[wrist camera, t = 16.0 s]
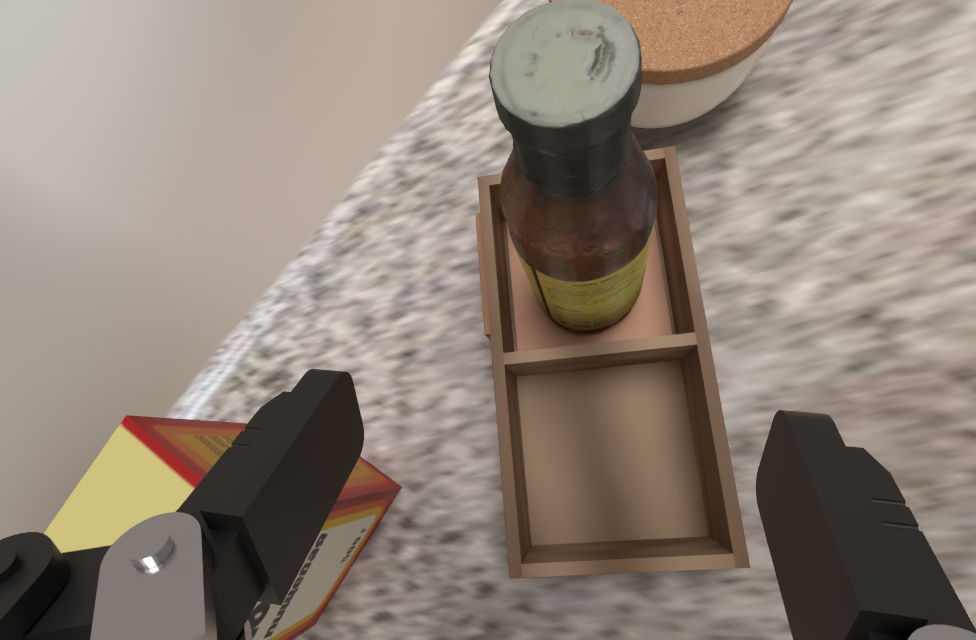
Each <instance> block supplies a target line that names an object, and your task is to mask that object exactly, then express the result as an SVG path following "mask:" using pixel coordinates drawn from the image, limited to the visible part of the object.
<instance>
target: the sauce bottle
mask: <svg viewBox="0 0 976 640" xmlns="http://www.w3.org/2000/svg"><path fill="white" fill-rule="evenodd" d="M641 69H642V56H641V50H640V42H639V39H638V37H637V35H636V33H635V31H634V29H633V27H632V26H631V24H630V23H629V21H628V20H627V19H626V18H624V17H623V16H622V15H621V13H620V12H619V11H618V10H616V9H615V8H613V7H611V6H609V5H607V4H605V3H603V2H599V1H596V0H558V1H554V2H551V3H547V4H544V5H541V6H538V7H536V8H534V9H531V10H529V11H527V12H525V13H524V14H523V15H522V16H521V17H519V18H518V19H516V20H515V21H513V23H512V24H511V25H510V26H509V27H508V28H507V29H506V31H505V32H504V33H503V35H502V36H501V37H500V39H499V40H498V42H497V44H496V47H495V49H494V52H493V54H492V58H491V63H490V73H489V79H490V83H491V87H492V92H493V96H494V100H495V105H496V109H497V112H498V115H499V118H500V120H501V122H502V123H503V124H504V126H505V128H506V129H507V130H508V131H509V132H510V133H511V135H512V138H513V147H514V148H513V150H512V152H511V154H510V157H509V159H508V161H507V163H506V165H505V168H504V170H503V172H502V177H501V184H500V192H499V196H500V199H501V203H502V210H503V214H504V217H505V219H506V222H507V224H508V227H509V233H510V237H511V240H512V243H513V245H514V248H515V250H516V252H517V254H518V257H519V259H520V261H521V264H522V266H523V268H524V271H525V273H526V275H527V278H528V280H529V282H530V285H531V287H532V289H533V292H534V294H535V296H536V299H537V301H538V303H539V305H540V306H541V308H542V309H543V311H544V312H545V313H546V314H547V315H549V316H550V318H551V319H552V321H553V322H555V323H556V324H558V325H559V326H561V327H563V328H565V329H568V330H572V331H574V332H585V333H596V332H601V331H603V330H605V329H608V328H609V327H611V326H613V325H615V324H617V323H618V322H620V321H621V320H622V319H623V318H625V317H626V316H627V315H628V314H629V313H630V311H631V309H632V307H633V306H634V304H635V303H636V301H637V299H638V297H639V295H640V292H641V288H642V284H643V279H644V274H645V269H646V263H647V259H648V254H649V249H650V244H651V239H652V235H653V229H654V225H655V220H656V213H657V206H658V189H657V181H656V177H655V173H654V170H653V168H652V166H651V164H650V162H649V160H648V158H647V156H646V154H645V153H644V151H643V149H642V147H641V146H640V144H639V142H638V140H637V139H636V137H635V135H634V134H633V132H632V130H631V125H630V124H631V115H632V113H633V111H634V110H635V108H636V106H637V103H638V101H639V97H640V92H641V86H642V71H641Z"/></svg>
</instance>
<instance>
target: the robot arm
mask: <svg viewBox="0 0 976 640" xmlns="http://www.w3.org/2000/svg"><path fill="white" fill-rule="evenodd" d="M363 441H364V428H363V423H362V418H361V414H360V410H359V405H358V401H357V397H356V392H355V388H354V384H353V380H352V377H351V375H350V374H349V373H348V372H343V371H332V370H320V369H311V370H309V371H307V372H306V373H305V375H304V376H303V377H302V378H301V380H300V381H299V382H298V384H297V385H296V386H295V388H294V389H293V390H292V391H291V392H282V393H281V394H279V395H278V396H276V397H275V398H274V399H272V400H271V401H269V402H268V403H266V404H265V405H264V406H262V407H261V408H260V409H259V410H258V411H257V413H256V414H255V415H254V416H253V418H252V419H251V420H250V421H249V422H248V424H247V425H246V426H245V430H244V431H241V432H240V434H239V435H238V436H237V437H236V438H235V440H234V441H233V442H232V446H231V447H228V448H227V450H226V451H225V452H224V453H223V454H222V456H221V457H220V458H219V459H218V461H217V462H216V463H215V464H214V466H213V467H212V468H211V469H210V470H209V472H208V473H207V474H206V475H205V477H204V478H203V479H202V480H201V482H200V483H199V484H198V485H197V486H196V488H195V489H194V490H193V491H192V493H191V494H190V495H189V496H188V497H187V499H186V500H185V501H184V502H183V504H182V505H181V506H180V507H179V508H178V510H177V511H176V512H169V513H164V514H160V515H156V516H153V517H151V518H148V519H146V520H144V521H142V522H140V523H138V524H136V525H135V526H133V527H132V528H130V529H129V530H128V531H126V532H125V533H124V534H123V535H121V536H120V537H119V538H118V539H117V540H116V541H115V542H114V543H113V545H109V546H103V547H96V548H90V549H83V550H77V551H71V552H64V553H61V552H60V551H59V549H58V548H57V547H56V545H55V544H54V543H53V541H52V540H51V539H50V538H49V537H48V536H47V535H45V534H42V533H38V532H27V533H21V534H17V535H13V536H10V537H7V538H4V539H2V540H0V640H252V634H251V627H250V623H249V621H248V618H249V616H250V614H251V613H252V611H253V609H254V607H255V606H256V604H257V602H264V603H269V604H275V605H282V603H283V601H284V599H285V597H286V596H287V594H288V592H289V590H290V588H291V586H292V584H293V582H294V580H295V578H296V577H297V575H298V573H299V571H300V569H301V567H302V565H303V563H304V561H305V559H306V558H307V556H308V554H309V552H310V550H311V548H312V546H313V544H314V542H315V541H316V539H317V537H318V535H319V533H320V531H321V529H322V527H323V525H324V523H325V522H326V520H327V518H328V516H329V514H330V512H331V510H332V508H333V506H334V505H335V503H336V501H337V499H338V497H339V495H340V493H341V491H342V489H343V487H344V486H345V484H346V482H347V480H348V478H349V476H350V474H351V472H352V470H353V468H354V467H355V465H356V463H357V461H358V459H359V457H360V454H361V451H362V447H363ZM756 496H757V504H758V508H759V512H760V516H761V520H762V523H763V527H764V531H765V535H766V538H767V542H768V546H769V550H770V554H771V557H772V561H773V565H774V569H775V572H776V576H777V580H778V584H779V587H780V591H781V595H782V599H783V602H784V606H785V610H786V614H787V618H788V621H789V625H790V629H791V633H792V636H793V640H976V629H975V627H974V626H973V624H972V622H971V620H970V618H969V617H968V615H967V613H966V611H965V609H964V607H963V606H962V604H961V602H960V600H959V598H958V596H957V595H956V593H955V591H954V589H953V587H952V585H951V584H950V582H949V580H948V578H947V576H946V575H945V573H944V571H943V569H942V567H941V565H940V564H939V562H938V560H937V558H936V556H935V554H934V553H933V551H932V549H931V547H930V545H929V543H928V542H927V540H926V538H925V536H924V534H923V532H922V531H919V530H918V526H919V525H918V523H917V521H916V520H915V518H914V516H913V514H912V512H911V510H910V509H909V507H906V506H905V502H906V501H905V499H904V498H903V496H902V494H901V492H900V490H899V488H898V487H897V485H896V483H895V481H894V479H893V477H892V476H891V474H890V473H889V472H888V471H887V470H886V469H885V468H884V467H883V466H882V465H881V464H880V463H879V462H878V461H877V460H875V459H874V458H873V457H872V456H871V455H870V454H869V453H868V452H867V451H866V450H865V449H864V448H857V447H847V446H845V444H844V442H843V440H842V438H841V436H840V434H839V432H838V430H837V428H836V425H835V423H834V421H833V420H832V418H831V417H830V416H829V415H827V414H819V413H808V412H796V411H784V410H779V411H778V412H777V413H776V414H775V416H774V419H773V422H772V425H771V429H770V432H769V435H768V439H767V442H766V445H765V448H764V452H763V455H762V458H761V462H760V465H759V468H758V472H757V479H756Z"/></svg>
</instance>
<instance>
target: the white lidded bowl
mask: <svg viewBox="0 0 976 640" xmlns="http://www.w3.org/2000/svg"><path fill="white" fill-rule="evenodd" d="M554 1H558V0H549V3H551V2H554ZM596 1H599V2H603V3H605V4H607V5H609V6H611V7H613V8H615V9H616V10H618V11H619V12H620V13H621V15H622V16H623V17H624V18H626V19H627V20H628V21H629V23H630V24H631V26H632V27H633V29H634V31H635V33H636V35H637V37H638V39H639V42H640V50H641V56H642V69H641V71H642V86H641V92H640V97H639V101H638V103H637V106H636V108H635V110H634V111H633V113H632V115H631V124H630V125H631V126H632V127H637V128H664V127H669V126H674V125H679V124H682V123H685V122H688V121H691V120H694V119H696V118H697V117H699V116H701V115H703V114H705V113H707V112H709V111H710V110H711V109H713V108H714V107H716V106H717V105H719V104H720V103H721V102H723V101H724V100H726V99H727V98H728V97H729V96H730V95H731V94H732V93H733V92H734V91H735V90H736V89H737V88H738V87H739V86H740V85H741V84H742V83H743V81H744V80H745V79H746V78H747V76H748V75H749V74H750V73H751V71H752V70H753V69H754V67H755V66H756V64H757V63H758V61H759V60H760V58H761V57H762V55H763V54H764V52H765V50H766V48H767V46H768V44H769V42H770V40H771V39H772V37H773V35H774V33H775V31H776V29H777V28H778V26H779V25H780V24H781V22H782V21H783V19H784V17H785V15H786V13H787V11H788V9H789V7H790V5H791V3H792V1H793V0H596Z"/></svg>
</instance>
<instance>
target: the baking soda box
mask: <svg viewBox="0 0 976 640" xmlns="http://www.w3.org/2000/svg"><path fill="white" fill-rule="evenodd" d="M246 425H247V424H245V423H231V422H216V421H201V420H187V419H172V418H156V417H142V416H126V417H125V418H124V419H123V421H122V422H121V424H120V425H119V427H118V428H117V429H116V431H115V432H114V434H113V435H112V437H111V438H110V440H109V441H108V442H107V444H106V445H105V447H104V448H103V449H102V451H101V453H100V454H99V455H98V457H97V458H96V459H95V461H94V463H93V464H92V465H91V467H90V468H89V470H88V471H87V473H86V474H85V475H84V477H83V478H82V480H81V481H80V482H79V484H78V485H77V487H76V488H75V490H74V491H73V492H72V494H71V495H70V497H69V498H68V500H67V501H66V503H65V504H64V505H63V507H62V508H61V510H60V511H59V512H58V514H57V515H56V517H55V518H54V520H53V521H52V523H51V524H50V525H49V527H48V529H47V530H46V531H45V533H44V534H45V535H47V536H48V537H49V538H50V539H51V540H52V541H53V543H54V544H55V545H56V547H57V548H58V549H59V551H60V552H61V553H64V552H71V551H77V550H83V549H90V548H96V547H103V546H109V545H113V543H114V542H115V541H116V540H117V539H118V538H119V537H120V536H121V535H123V534H124V533H125V532H126V531H128V530H129V529H130V528H132V527H133V526H135V525H136V524H138V523H140V522H142V521H144V520H146V519H148V518H151V517H153V516H156V515H160V514H164V513H169V512H176V511H177V510H178V508H179V507H180V506H181V505H182V504H183V502H184V501H185V500H186V499H187V497H188V496H189V495H190V494H191V493H192V491H193V490H194V489H195V488H196V486H197V485H198V484H199V483H200V482H201V480H202V479H203V478H204V477H205V475H206V474H207V473H208V472H209V470H210V469H211V468H212V467H213V466H214V464H215V463H216V462H217V461H218V459H219V458H220V457H221V456H222V454H223V453H224V452H225V451H226V450H227V448H228V447H231V446H232V442H233V441H234V440H235V438H236V437H237V436H238V435H239V434H240V432H241V431H244V430H245V426H246ZM400 489H401V486H400V485H398V484H397V483H396V482H394V481H393V480H392V479H390V478H389V477H388V476H386V475H385V474H383V473H382V472H381V471H379V470H378V469H377V468H375V467H374V466H373V465H371V464H370V463H368V462H367V461H366V460H364V459H363V458H362V457H359V459H358V461H357V463H356V465H355V467H354V468H353V470H352V472H351V474H350V476H349V478H348V480H347V482H346V484H345V486H344V487H343V489H342V491H341V493H340V495H339V497H338V499H337V501H336V503H335V505H334V506H333V508H332V510H331V512H330V514H329V516H328V518H327V520H326V522H325V523H324V525H323V527H322V529H321V531H320V533H319V535H318V537H317V539H316V541H315V542H314V544H313V546H312V548H311V550H310V552H309V554H308V556H307V558H306V559H305V561H304V563H303V565H302V567H301V569H300V571H299V573H298V575H297V577H296V578H295V580H294V582H293V584H292V586H291V588H290V590H289V592H288V594H287V596H286V597H285V599H284V601H283V603H282V605H275V604H269V603H264V602H257V604H256V606H255V607H254V609H253V611H252V613H251V614H250V616H249V618H248V621H249V623H250V627H251V634H252V640H292V639H294V638H295V637H297V636H299V635H300V634H302V633H303V632H305V631H306V630H308V629H309V628H311V627H312V626H314V625H315V624H316V622H317V620H318V619H319V617H320V616H321V614H322V613H323V611H324V609H325V608H326V606H327V605H328V603H329V601H330V600H331V598H332V597H333V595H334V594H335V592H336V590H337V589H338V587H339V586H340V584H341V582H342V581H343V579H344V578H345V576H346V575H347V573H348V571H349V570H350V568H351V567H352V565H353V563H354V562H355V560H356V559H357V557H358V556H359V554H360V552H361V551H362V549H363V548H364V546H365V544H366V543H367V541H368V540H369V538H370V537H371V535H372V533H373V532H374V530H375V529H376V527H377V525H378V524H379V522H380V521H381V519H382V518H383V516H384V514H385V513H386V511H387V510H388V508H389V506H390V505H391V503H392V502H393V500H394V499H395V497H396V495H397V494H398V492H399V491H400Z"/></svg>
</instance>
